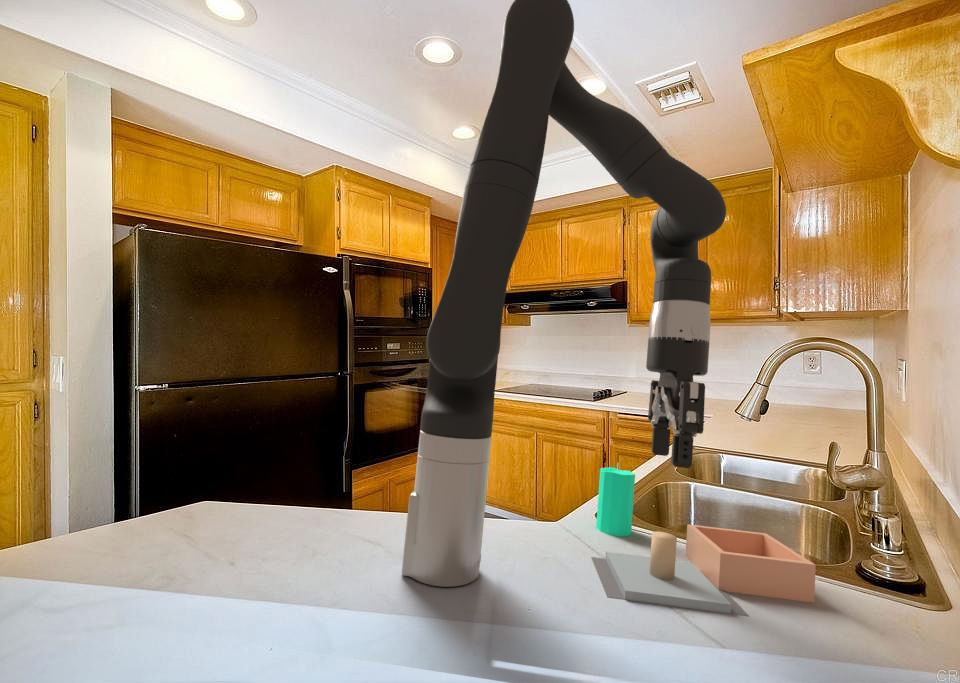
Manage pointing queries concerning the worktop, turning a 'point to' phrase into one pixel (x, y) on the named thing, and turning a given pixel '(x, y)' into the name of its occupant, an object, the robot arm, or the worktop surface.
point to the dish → (750, 563)
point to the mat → (615, 592)
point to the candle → (615, 501)
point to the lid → (665, 578)
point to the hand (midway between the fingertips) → (669, 460)
